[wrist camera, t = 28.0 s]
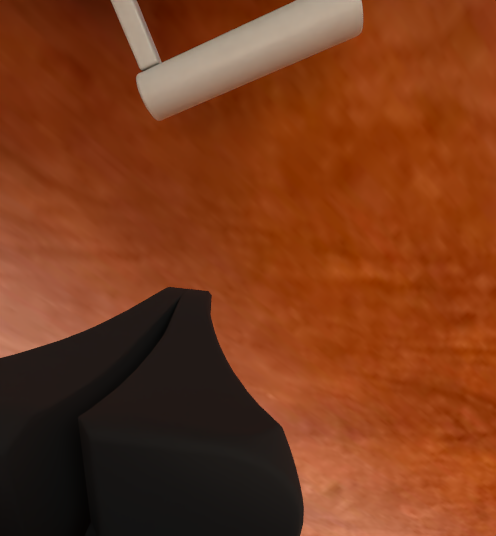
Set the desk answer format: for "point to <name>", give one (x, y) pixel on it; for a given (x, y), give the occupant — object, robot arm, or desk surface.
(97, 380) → the robot arm
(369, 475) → the desk surface
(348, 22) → the drawer
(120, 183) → the desk surface
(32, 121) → the desk surface
